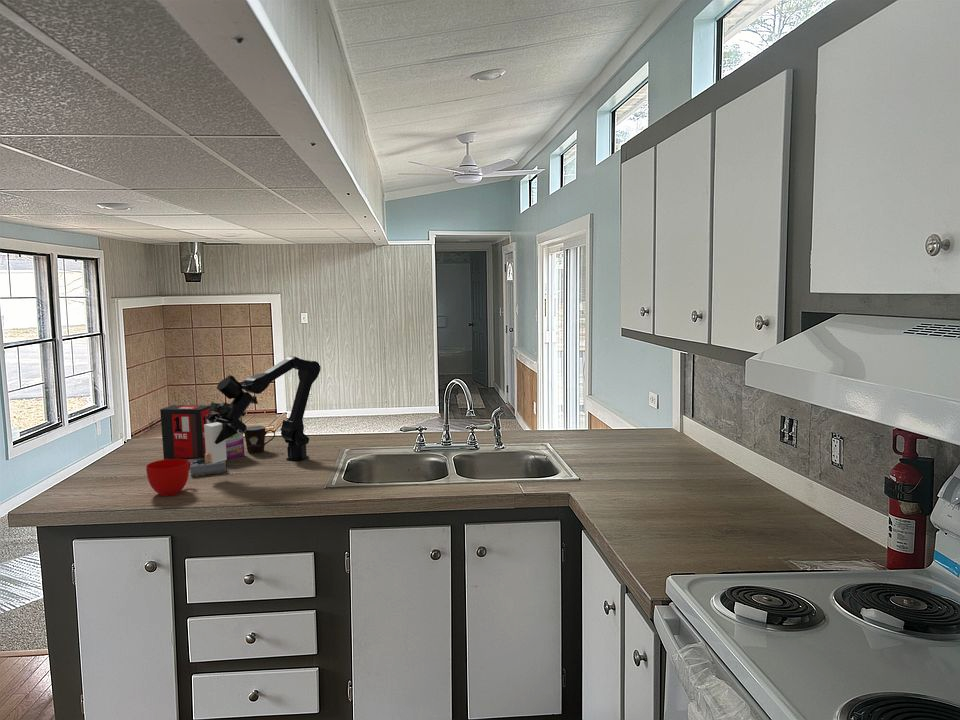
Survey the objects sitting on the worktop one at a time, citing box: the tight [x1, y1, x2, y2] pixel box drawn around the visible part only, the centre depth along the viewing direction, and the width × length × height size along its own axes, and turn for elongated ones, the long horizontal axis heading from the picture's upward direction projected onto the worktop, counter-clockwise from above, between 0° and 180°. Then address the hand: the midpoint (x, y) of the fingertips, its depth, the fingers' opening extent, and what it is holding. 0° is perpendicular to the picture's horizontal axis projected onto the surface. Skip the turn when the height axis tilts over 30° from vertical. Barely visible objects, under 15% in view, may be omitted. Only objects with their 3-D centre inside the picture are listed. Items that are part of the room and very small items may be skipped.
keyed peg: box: [204, 422, 228, 463], centre depth 246 cm, size 6×5×13 cm
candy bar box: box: [226, 416, 245, 460], centre depth 277 cm, size 11×5×16 cm, turn 143°
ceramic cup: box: [145, 459, 190, 497], centre depth 234 cm, size 13×17×10 cm
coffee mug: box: [243, 425, 276, 454], centre depth 286 cm, size 12×9×10 cm
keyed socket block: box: [187, 458, 227, 477], centre depth 259 cm, size 12×12×4 cm
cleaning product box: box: [159, 404, 213, 460], centre depth 280 cm, size 16×9×20 cm, turn 84°
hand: (211, 442), depth 246 cm, fingers closed on keyed peg, 5 cm apart
